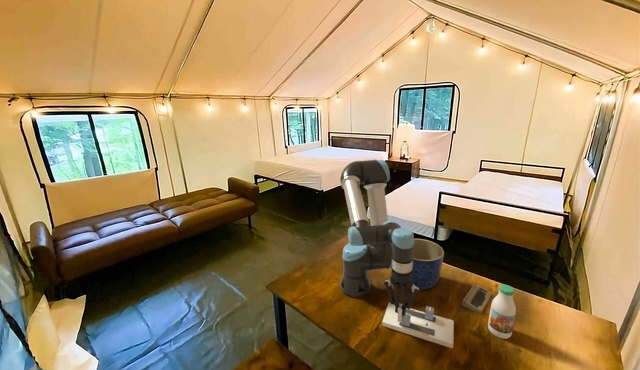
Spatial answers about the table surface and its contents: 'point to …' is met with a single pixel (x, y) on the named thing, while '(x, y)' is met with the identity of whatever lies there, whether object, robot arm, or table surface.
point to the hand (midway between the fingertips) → (400, 319)
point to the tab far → (429, 313)
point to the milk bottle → (502, 313)
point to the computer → (476, 298)
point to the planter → (426, 263)
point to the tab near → (406, 319)
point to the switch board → (422, 326)
